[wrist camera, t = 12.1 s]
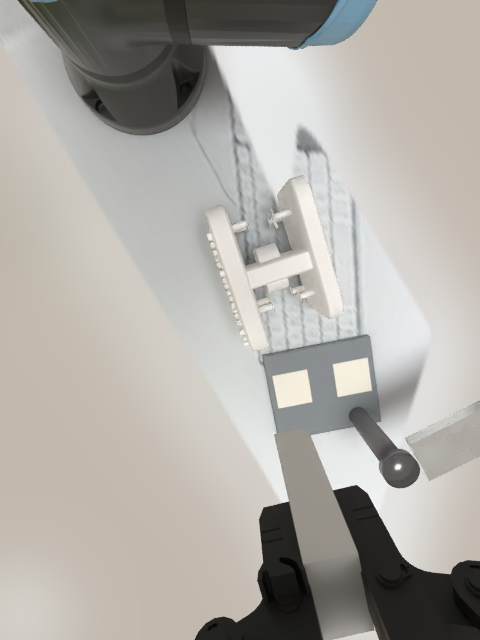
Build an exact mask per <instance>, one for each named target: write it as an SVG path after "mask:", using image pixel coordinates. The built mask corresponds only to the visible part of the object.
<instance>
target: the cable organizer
mask: <svg viewBox="0 0 480 640" xmlns="http://www.w3.org/2000/svg"><path fill="white" fill-rule="evenodd" d="M278 205H279V209H280V212H278V213H275V214H274V213H273V211H272V208H271V212H272V218H270V219H269V218H268V216H267V222H268V224H269V227H270V226H271V224H274V226H275V228H276V229H277V228H278V225H277V222H279V221H282V220H283V223H284V226H285V230H286V233H287V236H288V240H289V243H290V246H291V251H288V252H285V253H282V254H280V253H279V250H278V248H277V246H276V245H275V243H270V244H267V245H264V246H261V247H259V248H256V249H253V253H254V257H255V260H256V262H255V263H252V264H249V265H246V266H245V264H244V261H243V258H242V255H241V252H240V249H239V246H238V243H237V239H236V236H235V233H238V232H241V231H244V230H245V231H246V233H247V230H246V227H247V229H248V230H249V226H248V222H247V221H246V219H245V220H244V221H241V222H238V223H235V224H231V222H230V219H229V217H228V214H227V212H226V210H225V209H224V207H223V206H222V205H220V206H217V207H214V208H211V209H208V210H206V219H207V223H208V227H209V230H210V233H208V234H207V237H208V240H209V241H211V240H213V242H210V245H211V248H212V249H213V248H216V249H215V250H212V251H213V254H214V257H216V256H218V257H216V258H215V260H216V262H217V261H220V262H219V263H217V266H218V269H220V268H222V270H221V271H220V275H221V277H225V278H222V280H223V283H224V286H225V289H226V290H227V289H229V291H226V292H227V295H228V298H229V301H233V302H230V303H231V307H232V308H233V309H232V310H233V313H234V315H235V318H236V319H237V324H238V325H241V327H240V328H239V329H240V334H241V336H242V339H243V341H244V345H245V347H247V346H250V347H251V349H252V351H253V352H256V351H259V350H262V349H265V348H268V347H269V341H268V336H267V332H266V328H265V325H264V322H263V319H262V316H261V313H263V312H266V311H269V310H272V309H273V310H274V311H275V308H274V304H273V302H272V300H271V298H270V300H271V303H269V298H268V296H267V294H266V297H265V298H262V299H259V300H257V301H256V298H255V294H254V291H253V289H256V288H259V287H262V286H265V288H266V290H267V292H268V293H269V294H270V293H273V292H275V291H278V290H280V289H283V288H286V287H288V286H289V285H290V284H289V281H288V278H289V277H292V276H295V275H298V274H299V276H300V280H301V283H302V285H301V286H298V287H295V288H292V289H291V287H290V288H289V289H290V292H291V294H292V295H293V294H295V293H297V295H298V297H299V300H300V301H302V299H304V298H307V300H308V303H309V304H310V306H311V307H312V308H313V309H315V310H316V311H318V312H319V313H321V314H322V315H324V316H325V317H327V318H328V319H331V318H334V317H337V316H340V315H342V314H343V311H344V308H343V301H342V296H341V293H340V289H339V286H338V282H337V278H336V275H335V271H334V268H333V264H332V261H331V257H330V253H329V250H328V246H327V243H326V239H325V236H324V232H323V229H322V225H321V221H320V218H319V214H318V211H317V207H316V204H315V200H314V196H313V193H312V190H311V187H310V185H309V183H308V181H307V179H306V178H305V176H304V175H300V176H297V177H295V178H292V179H289V180H288V181H287V182H286V184H285V185H284V186H283V188H282V189H281V190H280V192H279V193H278ZM244 218H245V217H244ZM278 229H279V228H278ZM301 291H304V292H302V293H299V292H301ZM265 293H266V292H265ZM230 294H231V295H230ZM293 296H294V295H293ZM265 303H269V304H267V305H264V306H261V307H258V306H259V305H262V304H265ZM302 303H303V302H302ZM234 307H235V308H234ZM238 318H239V319H238Z"/></svg>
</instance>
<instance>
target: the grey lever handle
mask: <svg viewBox="0 0 480 640" xmlns="http://www.w3.org/2000/svg"><path fill="white" fill-rule="evenodd" d="M405 439H406V441H407V443H408V445H409V447H410V449H411V451H412V453H413V455H414V457H415V459H416V460H415V459H414V458H413V457H412V456H411V454H410V453H409V452H407V451H405V450H403V449H393V450H390V451H388V452H387V453H385V454H384V455H383V456H382V458H381V460H380V462H379V470H380V473H381V474H382V476H383V477H384V479H385V480H386V482H387V483H388V484H389V485H391V486H392V487H395V488H405V487H408V486H410V485H411V484H413V483H414V482H415V481H416V480H417V478H418V476H419V473H420V469H421V471H422V473H423V474H424V476H426V478H427V479H428V480H429V481H430V480H432V479H434V478H436V477H439V476H440V475H443V474H445V473H447V472H449V471H451V470H453V469H455V468H457V467H458V466H461V465H463V464H465V463H467V462H469V461H471V460H473V459H475V458H477V457H479V456H480V401H478V402H476V403H474V404H472V405H470V406H468V407H466V408H464V409H462V410H460V411H458V412H456V413H454V414H452V415H450V416H448V417H446V418H444V419H442V420H440V421H438V422H436V423H434V424H432V425H430V426H428V427H426V428H424V429H422V430H420V431H418V432H416V433H414V434H412V435H410V436H408V437H406V438H405Z"/></svg>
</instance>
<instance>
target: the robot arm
mask: <svg viewBox="0 0 480 640" xmlns="http://www.w3.org/2000/svg"><path fill="white" fill-rule="evenodd" d="M18 1H19V3H20V4H21V5H22V6H23V7H24V8H25V9H26V11H27V12H28V13H29V14H30V15H31V16H32V17H33V19H34V20H35V21H36V22H37V23H38V24H39V25H40V27H41V28H42V29H43V30H44V31H45V32H46V33H47V35H48V36H49V37H50V38H51V39H52V40H53V42H54V43H55V44H56V45H57V46H58V47H59V48H60V50H61V52H62V56H63V60H64V64H65V67H66V71H67V73H68V76H69V79H70V81H71V83H72V85H73V87H74V89H75V90H76V92H77V94H78V95H79V97H80V98H81V99H82V101H83V102H84V103H85V104H86V105H87V106H88V107H89V108H90V109H91V111H92V112H93V113H94V114H95V115H96V116H98V117H99V118H100V119H101V120H102V121H104V122H105V123H106V124H108V125H110V126H111V127H113V128H115V129H118V130H120V131H123V132H126V133H130V134H137V135H149V134H155V133H159V132H162V131H165V130H167V129H169V128H171V127H173V126H175V125H176V124H178V123H179V122H180V121H181V120H183V119H184V118H185V117H186V116H187V115H188V114H189V112H190V111H191V110H192V108H193V107H194V105H195V104H196V102H197V100H198V98H199V96H200V94H201V91H202V88H203V84H204V80H205V73H206V57H205V49H204V45H223V46H273V47H277V46H278V47H288V48H290V49H294V50H298V49H300V48H301V49H303V48H305V47H307V46H319V45H334V44H337V43H339V42H342V41H344V40H345V39H347V38H349V37H350V36H351V35H353V33H355V32H356V31H357V30H358V28H359V27H360V26H361V25H362V24H363V23H364V21H365V20H366V18H367V17H368V15H369V14H370V12H371V11H372V9H373V8H374V6H375V4H376V2H377V0H18ZM274 436H275V440H276V445H277V449H278V454H279V458H280V463H281V467H282V472H283V476H284V481H285V485H286V490H287V494H288V499H289V502H286V503H281V504H277V505H273V506H269V507H264V508H263V510H262V513H261V516H260V519H259V523H260V533H261V543H262V554H263V564H262V566H261V568H260V570H259V572H258V580H257V581H258V584H259V587H260V591H261V594H262V598H263V599H262V601H261V603H260V604H259V606H258V607H257V608H256V609H255V610H254V611H253V612H252V613H251V614H249V615H248V616H246V617H245V618H243V619H241V620H240V621H238V622H237V623H236V622H235V621H234V620H232V619H230V618H227V617H219V618H214V619H213V620H211V621H209V622H207V623H206V624H205V625H204V626H203V627H202V629H201V630H200V631H199V632H198V634H197V636H196V638H195V640H332V639H337V638H341V637H345V636H350V635H355V634H359V633H364V632H368V631H373V630H374V626H375V630H376V632H377V635H378V638H379V640H480V561H470V560H467V561H464V562H460V563H458V564H457V565H456V566H455V567H454V568H453V569H452V573H451V574H441V573H432V572H427V571H423V570H421V569H418V568H416V567H414V566H413V565H411V564H409V562H407V561H406V560H405V559H404V558H403V557H402V556H401V554H400V553H399V551H398V549H397V547H396V545H395V543H394V542H393V540H392V538H391V536H390V534H389V532H388V530H387V529H386V527H385V525H384V523H383V521H382V519H381V518H380V517H379V514H378V512H377V510H376V508H375V507H374V505H373V503H372V501H371V499H370V497H369V495H368V494H367V493H366V492H365V491H364V490H362V489H361V488H360V487H358V486H357V485H355V486H350V487H346V488H342V489H337V490H332V488H331V485H330V483H329V480H328V478H327V475H326V473H325V470H324V468H323V466H322V463H321V461H320V458H319V456H318V453H317V451H316V448H315V446H314V443H313V441H312V439H311V436H310V434H309V431H308V429H307V427H305V428H301V429H296V430H292V431H288V432H284V433H280V434H275V435H274ZM373 624H374V626H373Z"/></svg>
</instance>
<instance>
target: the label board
mask: <svg viewBox="0 0 480 640" xmlns="http://www.w3.org/2000/svg"><path fill="white" fill-rule="evenodd" d="M263 360H264V365H265V370H266V376H267V381H268V386H269V391H270V397H271V402H272V407H273V412H274V417H275V423H276V428H277V433H278V434H280V433H284V432H288V431H292V430H296V429H301V428H305V427H307V429H308V431H309V434H310V435H313V434H319V433H324V432H329V431H334V430H339V429H345V428H350V427H355V428H356V429H357V431H358V432H359V433H360V435H361V436H362V438H363V439H364V440H365V442H366V443H367V445H368V446H369V447H370V449H371V450H372V452H373V453H374V454H375V456H376V457H377V459H378V460H379V461H380V460H381V458H382V456H383V455H384V454H385V453H387V452H388V451H390V450H393V449H398V448H397V447H396V446H395V445H394V444H393V442H392V441H391V440H390V439H389V438H388V436H387V435H386V434H385V433H384V432H383V431H382V429H381V428H380V427H379V426H378V425H377V424H376V422H381V417H380V409H379V401H378V394H377V386H376V378H375V371H374V363H373V356H372V348H371V340H370V336H368V335H364V336H358V337H353V338H348V339H343V340H338V341H333V342H328V343H323V344H318V345H313V346H307V347H302V348H297V349H292V350H287V351H282V352H277V353H272V354H267V355H263Z"/></svg>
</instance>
